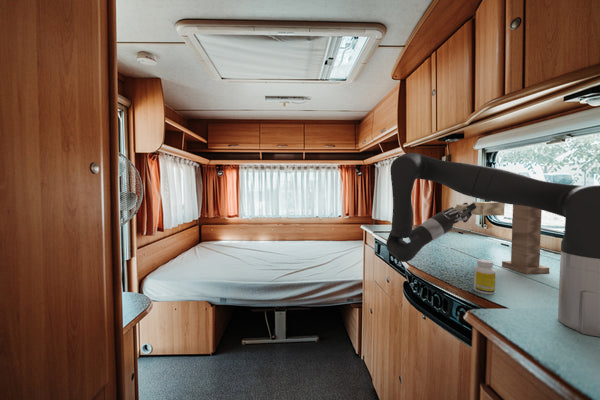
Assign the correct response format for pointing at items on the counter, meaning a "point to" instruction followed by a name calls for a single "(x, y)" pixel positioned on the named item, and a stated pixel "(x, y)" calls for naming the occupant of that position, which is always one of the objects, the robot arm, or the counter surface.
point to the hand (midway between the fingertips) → (470, 204)
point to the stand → (526, 241)
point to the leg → (485, 208)
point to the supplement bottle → (484, 277)
